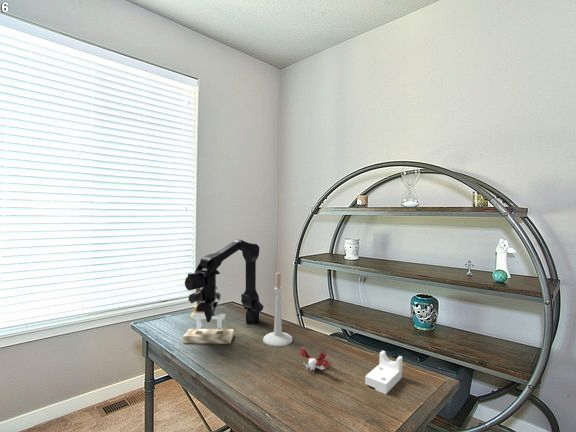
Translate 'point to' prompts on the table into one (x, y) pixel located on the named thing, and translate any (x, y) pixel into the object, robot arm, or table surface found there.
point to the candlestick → (278, 322)
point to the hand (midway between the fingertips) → (209, 321)
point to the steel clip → (214, 316)
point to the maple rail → (209, 336)
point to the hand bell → (196, 306)
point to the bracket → (385, 374)
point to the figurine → (315, 360)
